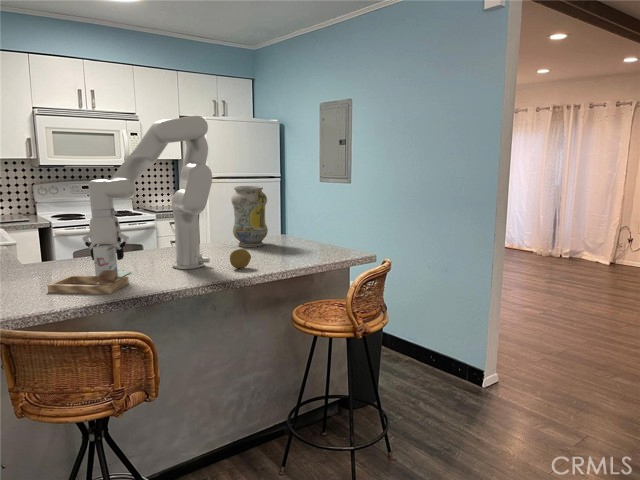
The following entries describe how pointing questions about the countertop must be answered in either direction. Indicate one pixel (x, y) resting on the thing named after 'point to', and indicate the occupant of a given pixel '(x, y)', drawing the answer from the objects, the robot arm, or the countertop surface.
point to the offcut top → (108, 276)
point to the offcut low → (106, 283)
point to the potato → (240, 258)
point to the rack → (65, 286)
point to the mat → (119, 274)
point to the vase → (249, 215)
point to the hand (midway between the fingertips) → (107, 259)
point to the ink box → (104, 258)
